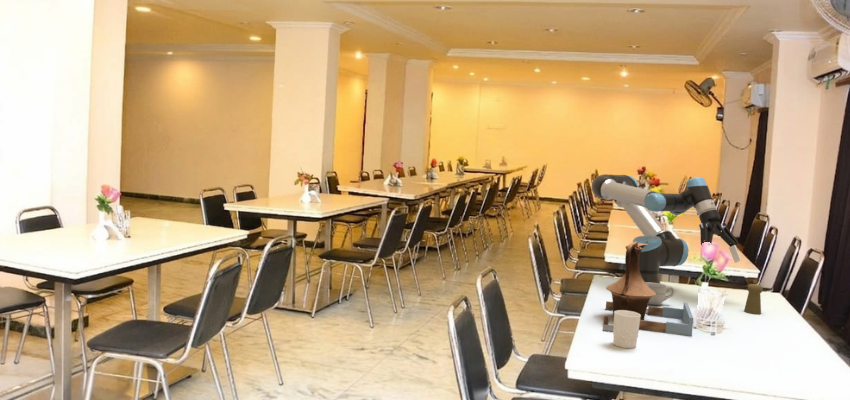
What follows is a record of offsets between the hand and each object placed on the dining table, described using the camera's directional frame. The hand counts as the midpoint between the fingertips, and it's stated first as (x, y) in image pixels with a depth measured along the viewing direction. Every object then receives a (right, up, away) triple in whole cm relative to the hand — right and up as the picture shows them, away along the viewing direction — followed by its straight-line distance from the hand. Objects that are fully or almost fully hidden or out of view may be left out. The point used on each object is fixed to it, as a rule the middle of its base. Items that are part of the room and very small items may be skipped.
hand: (727, 261), depth 279 cm
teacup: (-29, -17, -1) cm, 34 cm away
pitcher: (-47, -18, -29) cm, 58 cm away
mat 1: (-55, -19, -44) cm, 73 cm away
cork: (+8, -19, -5) cm, 21 cm away
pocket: (-32, -19, -33) cm, 50 cm away
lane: (-46, -18, -29) cm, 57 cm away
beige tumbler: (-58, -21, -62) cm, 87 cm away
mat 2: (-40, -17, -14) cm, 46 cm away
